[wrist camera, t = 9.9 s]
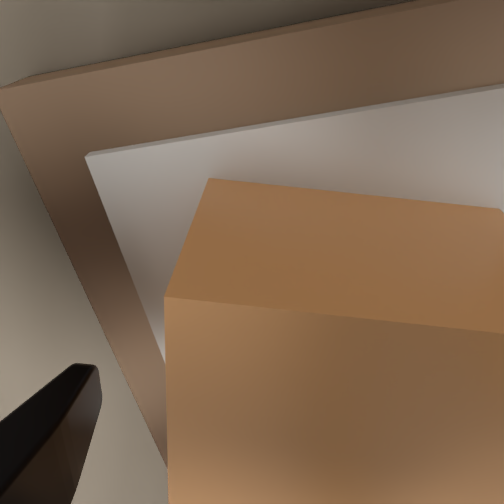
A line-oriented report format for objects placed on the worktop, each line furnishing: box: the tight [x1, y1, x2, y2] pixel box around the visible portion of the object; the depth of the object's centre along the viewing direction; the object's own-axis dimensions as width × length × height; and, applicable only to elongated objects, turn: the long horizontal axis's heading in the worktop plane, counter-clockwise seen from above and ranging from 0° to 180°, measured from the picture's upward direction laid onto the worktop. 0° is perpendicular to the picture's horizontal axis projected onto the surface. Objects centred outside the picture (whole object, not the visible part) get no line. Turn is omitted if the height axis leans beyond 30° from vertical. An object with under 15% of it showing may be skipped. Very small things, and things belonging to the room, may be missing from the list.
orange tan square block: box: [164, 178, 504, 504], centre depth 9 cm, size 6×6×4 cm
